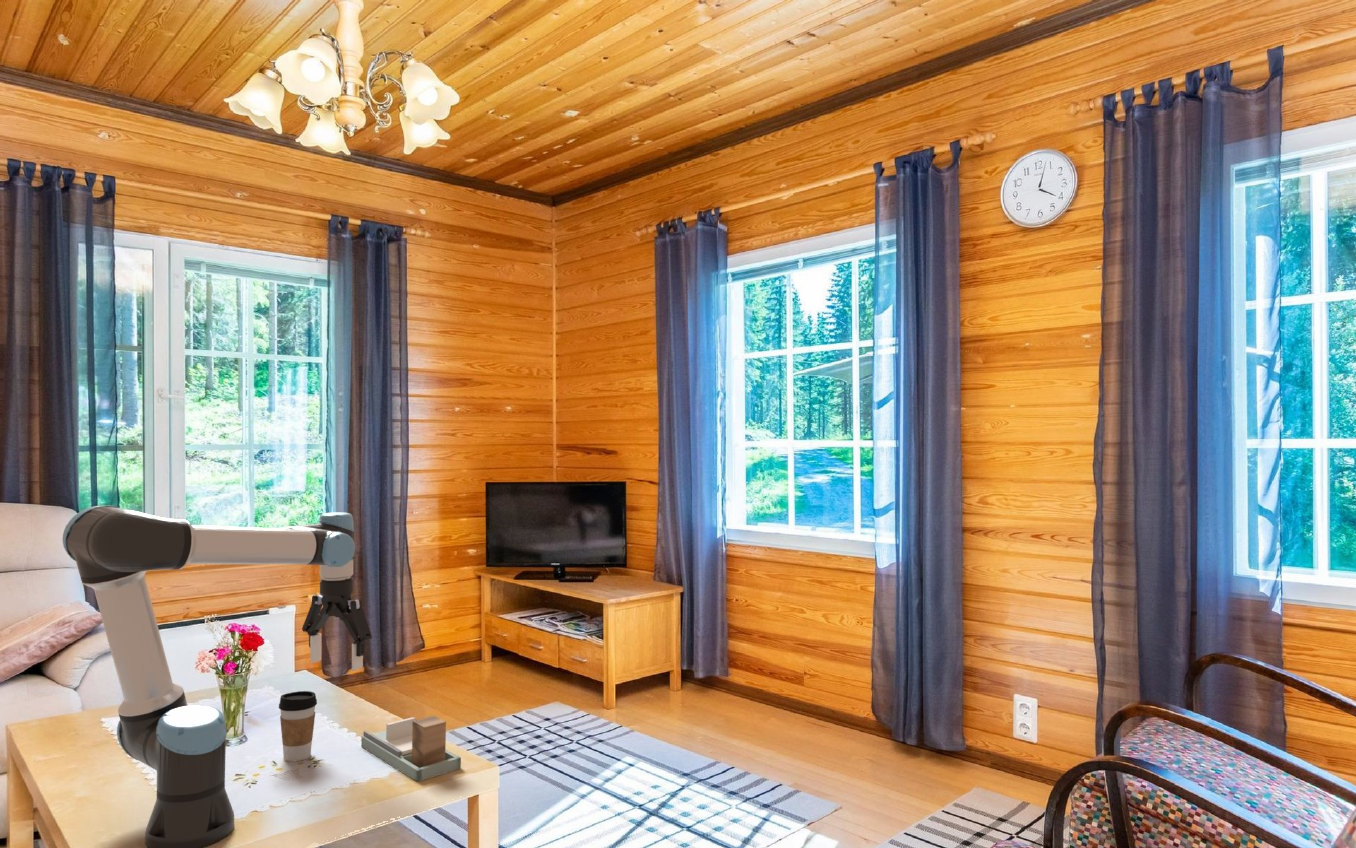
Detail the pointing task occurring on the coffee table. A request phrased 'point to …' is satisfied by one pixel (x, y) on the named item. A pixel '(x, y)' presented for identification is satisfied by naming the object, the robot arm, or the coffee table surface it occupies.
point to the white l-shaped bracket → (400, 735)
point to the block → (428, 741)
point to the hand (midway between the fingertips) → (336, 665)
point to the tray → (407, 758)
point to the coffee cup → (297, 724)
